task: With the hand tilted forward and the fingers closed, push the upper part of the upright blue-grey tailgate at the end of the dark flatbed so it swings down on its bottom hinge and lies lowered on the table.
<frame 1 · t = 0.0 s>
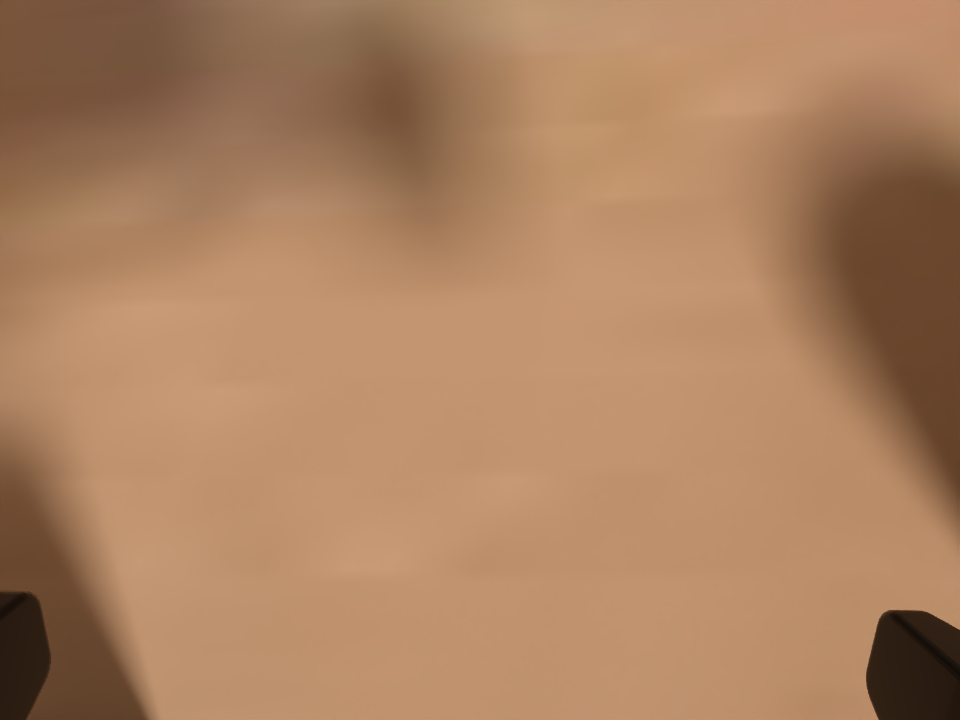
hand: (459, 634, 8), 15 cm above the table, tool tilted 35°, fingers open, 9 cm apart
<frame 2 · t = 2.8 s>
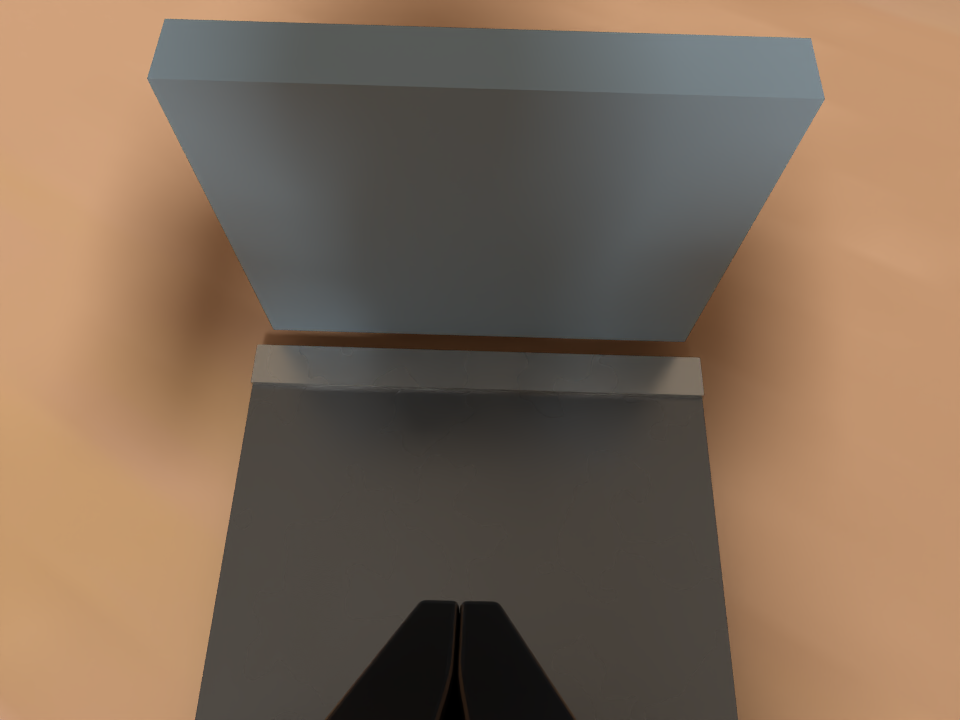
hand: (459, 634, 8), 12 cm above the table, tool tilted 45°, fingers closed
flatbed: (471, 583, 20), on the table
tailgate: (482, 209, 18), point 6 cm above the table, hinge at 0.0°
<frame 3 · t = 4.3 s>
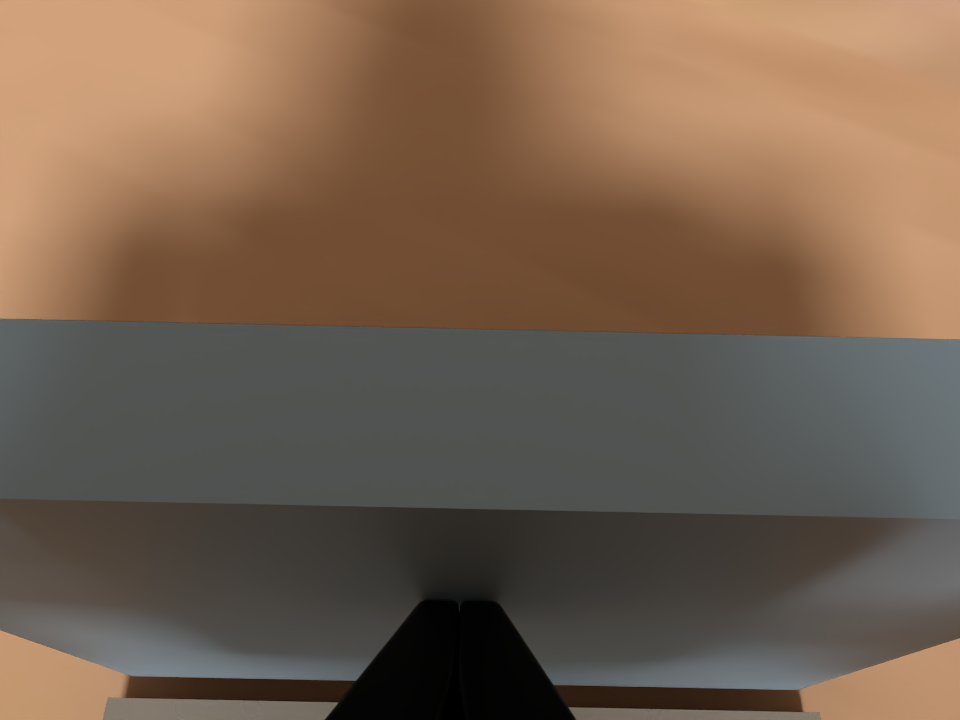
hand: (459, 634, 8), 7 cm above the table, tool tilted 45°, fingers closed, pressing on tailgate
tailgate: (464, 558, 10), point 6 cm above the table, hinge at 4.0°, touching gripper
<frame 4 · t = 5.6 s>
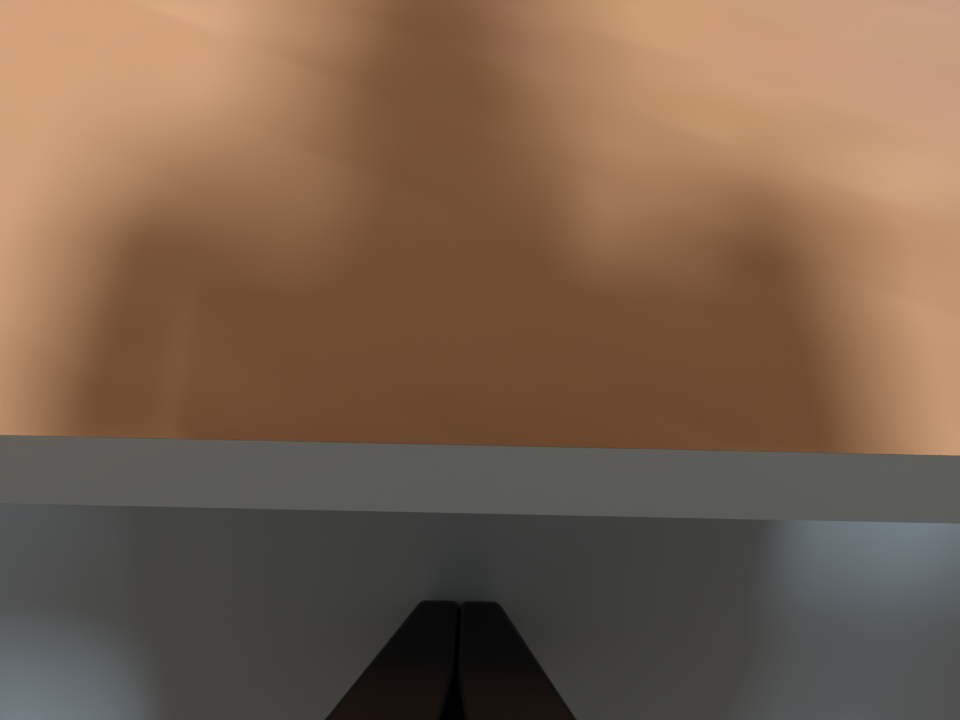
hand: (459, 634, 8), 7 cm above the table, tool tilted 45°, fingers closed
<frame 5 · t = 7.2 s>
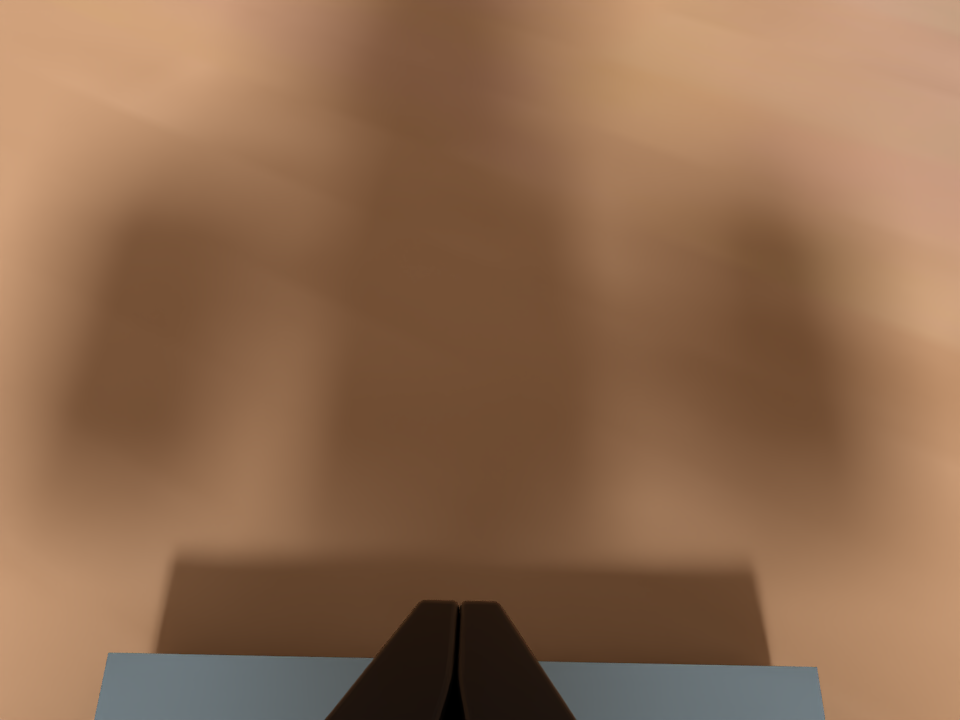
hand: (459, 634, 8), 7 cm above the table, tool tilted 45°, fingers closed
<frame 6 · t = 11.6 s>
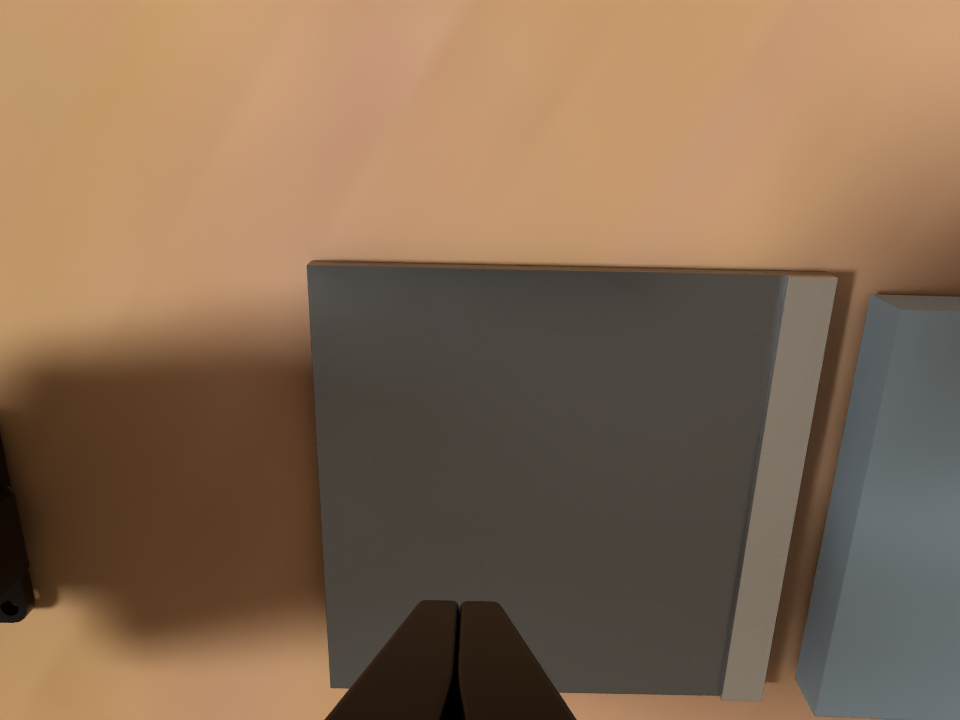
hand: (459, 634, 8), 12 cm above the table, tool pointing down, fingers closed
flatbed: (554, 494, 21), on the table
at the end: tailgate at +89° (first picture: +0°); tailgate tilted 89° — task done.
